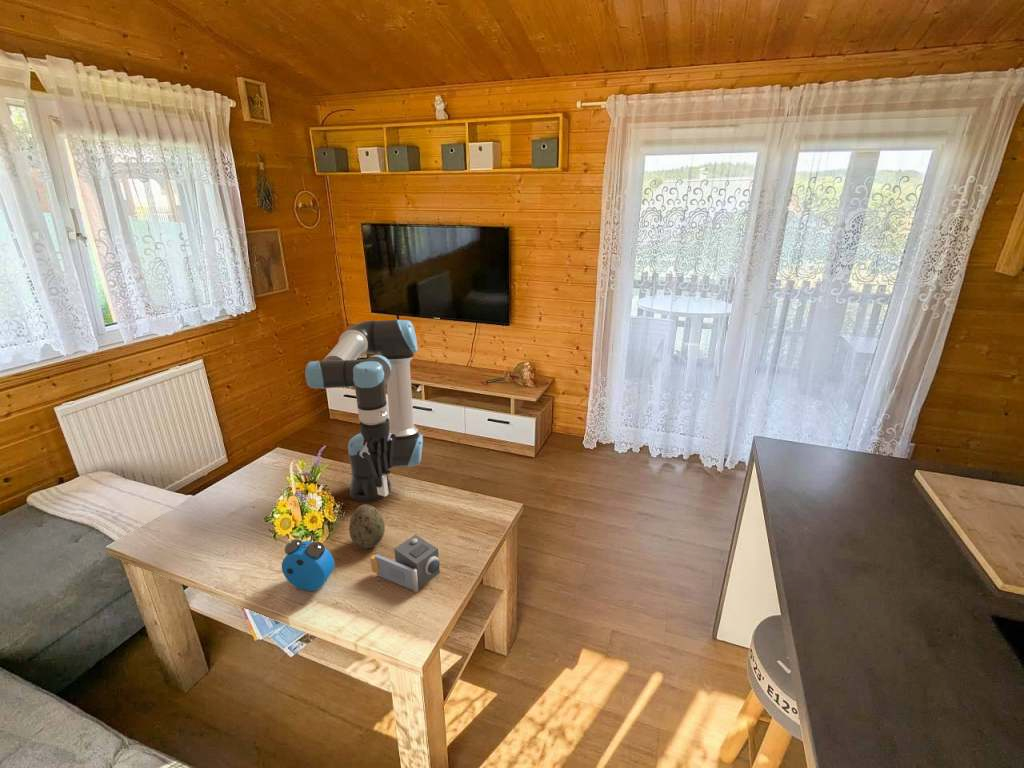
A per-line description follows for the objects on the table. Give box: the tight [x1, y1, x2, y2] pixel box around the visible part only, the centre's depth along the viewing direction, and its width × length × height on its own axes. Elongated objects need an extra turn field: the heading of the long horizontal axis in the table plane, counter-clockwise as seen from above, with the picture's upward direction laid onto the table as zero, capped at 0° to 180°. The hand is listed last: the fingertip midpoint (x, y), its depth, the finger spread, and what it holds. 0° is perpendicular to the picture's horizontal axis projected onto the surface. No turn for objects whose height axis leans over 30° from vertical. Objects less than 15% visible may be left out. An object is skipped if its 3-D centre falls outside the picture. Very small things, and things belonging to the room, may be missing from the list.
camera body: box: [393, 534, 441, 589], centre depth 140 cm, size 11×8×10 cm
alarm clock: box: [281, 538, 335, 592], centre depth 136 cm, size 13×6×15 cm, turn 80°
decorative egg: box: [348, 504, 386, 549], centre depth 151 cm, size 11×11×15 cm
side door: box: [369, 553, 420, 593], centre depth 138 cm, size 16×2×7 cm, turn 63°
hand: (383, 494), depth 136 cm, fingers closed
